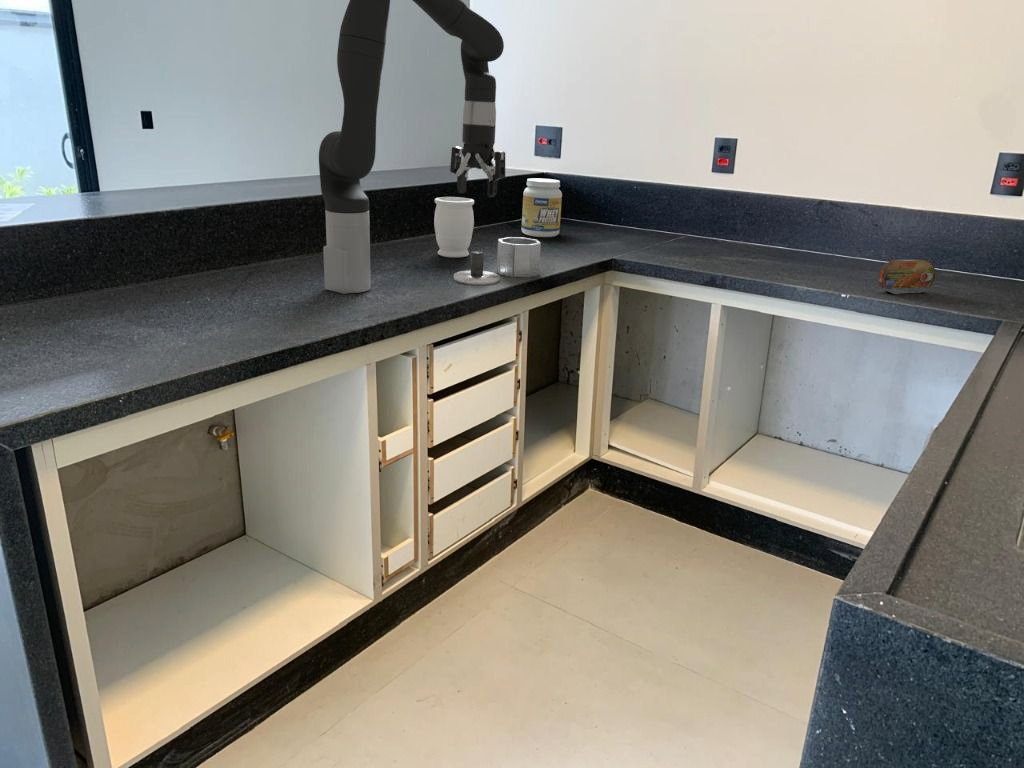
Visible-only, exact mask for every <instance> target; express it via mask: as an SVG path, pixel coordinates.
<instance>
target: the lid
mask: <svg viewBox="0 0 1024 768" xmlns="http://www.w3.org/2000/svg"><path fill="white" fill-rule="evenodd" d="M484 253H485V252H484V251H471V252H470V269H469V270H460V271H457V272H455V273H454V274H453V281H455V282H457V283H461V284H466V285H471V284H472V285H474V286H483V285H484V286H485V285H486V284H488V285H494V284H496V283H499V282H500V279H501V278H500V276H501V275H499V273H498V274H497V272H496V273H495V272H492V271H488V270H487V271H486V270H484V259H485V256H484ZM498 281H499V282H498ZM493 283H494V284H493ZM472 285H471V286H472ZM486 286H487V285H486Z"/></svg>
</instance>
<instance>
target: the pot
mask: <svg viewBox="0 0 1024 768" xmlns="http://www.w3.org/2000/svg"><path fill="white" fill-rule="evenodd" d="M541 244H542V243H541V242H540V241H539V240H538V239H534V238H529V237H528V238H527V237H523V236H522V237H519V236H518V237H515V236H514V237H512V236H509V237H508V236H507V237H504V238H503V237H502V238H498V240H497V261H496V262H497V263H496V264H497V265H496V273H498V275H499V276H503V275H505V276H504V277H508V276H511V277H510V278H516V277H528V279H529V278H533V277H537V276H539V275H540V263H541V262H540V261H541V260H540V259H541V258H540V257H541Z"/></svg>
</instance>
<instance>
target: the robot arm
mask: <svg viewBox="0 0 1024 768" xmlns="http://www.w3.org/2000/svg"><path fill="white" fill-rule="evenodd" d="M412 1H413V2H414V3H415V4H416V5H417V6H418V7H419V8H420V9H421V10H422V11H423V12H424V13H425V14H426V15H427V16H428V17H430V18H431V19H432V20H433V21H434V23H436V24H437V25H438V27H440V28H441V29H442V30H443V31H444V32H445V33H446V34H448V35H450V36H453V37H455V38H458V39H460V40H461V43H460V60H461V65H462V70H463V74H464V75H463V76H464V81H465V84H464V104H463V105H464V106H463V111H462V135H461V137H462V139H461V142H462V144H463V146H453V147H452V148H451V155H450V165H449V166H450V168H449V170H450V173H451V174H454V175H456V177H457V180H456V188H457V192H458V193H459V194H465V193H466V192H467V178H468V177H467V176H466V175H467V174H468V173H469V171H470V170H471V169H479V170H482V171H483V173H485V175H486V176H487V177H486V178H488V180H487V193H486V194H487V195H486V196H487V198H495V197H496V195H497V193H498V181H499V180H501V179H505V178H506V152H505V151H504V150H503V151H502V150H501V151H495V149H494V145H495V142H496V121H497V110H496V109H497V108H496V99H497V98H496V95H497V94H496V91H497V80H496V77H495V76H494V75H492V74H491V73H490V69H489V63H490V62H494V61H496V60H498V59H499V58H500V57H501V56H502V55H503V52H504V48H505V46H504V45H505V43H504V39H503V37H502V35H501V32H500V31H499V30H498V29H497V28H496V26H494V24H492V23H490V22H489V21H488V20H487V19H485V18H484V17H483V16H481V15H480V14H479V13H477V12H476V11H473V10H472V9H471V8H469V6H468V5H467V4H466V3H465V2H464V1H463V0H412ZM390 8H391V0H349V2H348V4H347V6H346V10H345V12H344V15H343V18H342V20H341V21H342V22H341V25H340V29H339V35H338V36H339V37H338V42H337V44H338V45H337V53H336V54H337V55H336V64H337V66H336V67H337V72H338V73H337V74H338V78H339V83H340V87H341V91H342V98H343V116H342V124H341V130H337V131H332V132H330V133H328V134H326V135H325V136H324V137H323V139H322V141H321V143H320V144H319V150H318V170H319V181H320V182H319V183H320V191H321V196H322V198H323V200H324V205H325V208H324V209H325V230H326V231H325V233H326V236H325V237H326V245H324V246H323V249H322V251H323V253H322V254H323V273H324V274H323V276H324V277H323V278H324V289H325V290H327V291H331V292H335V293H339V294H344V295H345V294H355V293H357V294H358V293H364V292H367V291H370V289H371V288H372V287H371V286H372V285H371V237H370V235H371V234H370V199H369V197H368V196H367V195H366V194H365V192H364V190H363V188H362V186H361V185H362V184H361V181H360V180H362V179H364V178H365V177H366V176H368V175H369V174H370V172H371V171H372V169H373V167H374V163H375V159H376V152H377V151H376V149H377V147H376V146H377V144H376V143H377V116H378V114H377V113H378V104H379V98H380V89H381V79H382V73H383V67H384V61H385V60H384V59H385V54H386V53H385V51H386V42H387V32H388V23H389V17H390ZM462 157H463V158H464V159H462ZM493 160H494V163H493Z"/></svg>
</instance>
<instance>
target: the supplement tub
mask: <svg viewBox="0 0 1024 768" xmlns="http://www.w3.org/2000/svg"><path fill="white" fill-rule="evenodd" d="M526 186H527V187H525V188H524V191H523V198H522V213H521V215H522V216H521V217H522V218H521V232H522V233H523V234H524V235H527V236H530V237H537V238H553V237H556V236H558V235H559V234H560V228H561V213H562V201H563V199H562V197H563V193H562V191H561V190H560V189H559V188H560V187H561V181H560V180H558V179H552V178H539V177H538V178H535V177H534V178H533V177H532V178H527V180H526Z"/></svg>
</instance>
